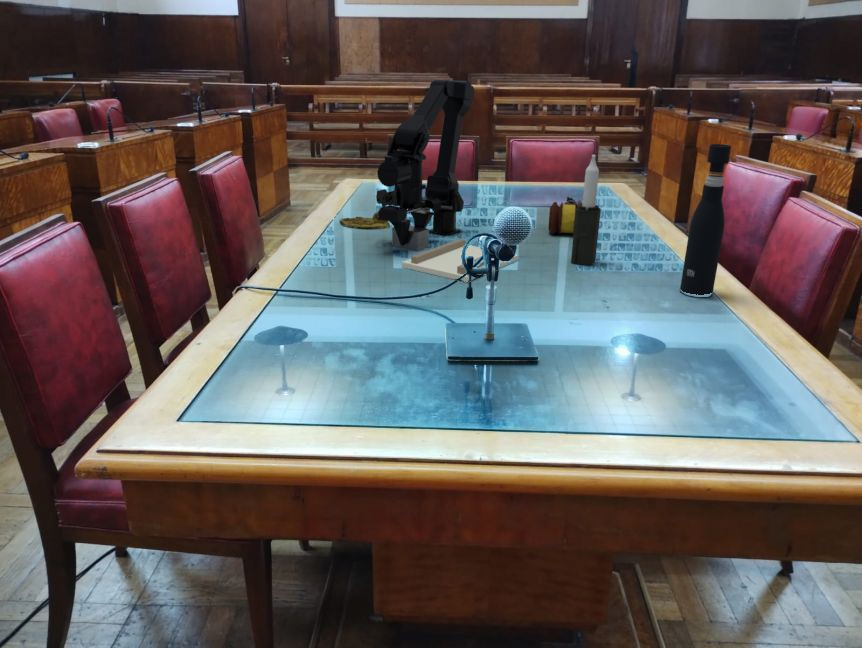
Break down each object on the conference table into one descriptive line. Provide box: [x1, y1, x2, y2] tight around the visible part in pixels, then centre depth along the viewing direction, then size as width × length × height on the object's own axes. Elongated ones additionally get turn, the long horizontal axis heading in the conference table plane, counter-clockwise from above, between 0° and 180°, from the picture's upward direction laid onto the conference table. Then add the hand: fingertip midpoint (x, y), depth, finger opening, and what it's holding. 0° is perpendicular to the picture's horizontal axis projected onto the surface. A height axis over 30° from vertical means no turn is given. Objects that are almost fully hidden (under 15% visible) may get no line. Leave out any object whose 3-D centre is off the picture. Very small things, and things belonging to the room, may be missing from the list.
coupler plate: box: [401, 238, 519, 283], centre depth 160 cm, size 22×18×3 cm
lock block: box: [391, 224, 430, 252], centre depth 173 cm, size 4×8×5 cm, turn 54°
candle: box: [570, 154, 602, 267], centre depth 159 cm, size 5×5×25 cm
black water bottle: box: [679, 143, 732, 295], centre depth 138 cm, size 6×6×30 cm
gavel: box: [548, 196, 583, 236], centre depth 197 cm, size 10×34×10 cm
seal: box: [339, 211, 391, 231], centre depth 193 cm, size 9×5×15 cm
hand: (410, 242), depth 173 cm, fingers open, 6 cm apart
